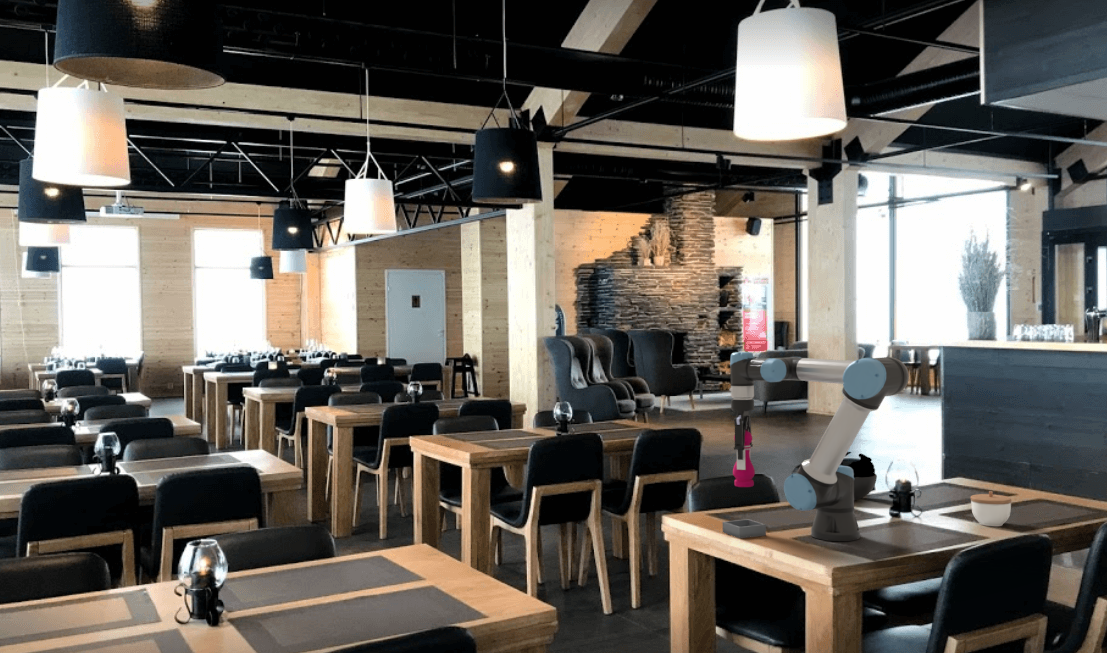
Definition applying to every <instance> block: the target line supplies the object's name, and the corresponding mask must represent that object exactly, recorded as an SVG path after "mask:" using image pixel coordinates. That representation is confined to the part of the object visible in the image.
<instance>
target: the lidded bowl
mask: <svg viewBox="0 0 1107 653" xmlns="http://www.w3.org/2000/svg"><path fill="white" fill-rule="evenodd" d="M993 493H994V492H993V491H988V493H981V494H980V493H978V494H973V495H970V506H971V512H972V515H973V517H974V518H975V520H976V521H977V522H978V523H979V525H982V526H985V527H1002V526H1003V524H1005V523H1006V522H1007V521H1008V519H1009V518H1010V515H1011V510H1012V509H1011V508H1012V497H1010V496H1006V495H1001V494H993Z"/></svg>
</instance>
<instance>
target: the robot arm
mask: <svg viewBox="0 0 1107 653" xmlns="http://www.w3.org/2000/svg"><path fill="white" fill-rule="evenodd" d="M729 362H730V364H729V367H730V369H729V370H730V388H729V392H730V398H732V399H731V400H730V408H731V410H732V411H733V412H735V411H736V416H735V417H734V419H733V421H734V435H735V441H734V447H733V450H734V451H735V450H736V461H737V469H739V470H745V469H746V466H745V450H744V443H745V430H746V431H748V432H750V433H751V434H752V415H751V414H749V412H751V411H752V412H753V411H754V410H755V400H754V397H755V386H754V384H755V383H754V382H764V383H765V382H766V383H767V382H768V383H780V382H782V381H800V382H801V381H802V382H803V381H805V382H812V383H813V382H815V383H817V382H818V383H827V384H837V385H839V384H841V385H842V386H843V388H842V389H841V393H842V396H843V399H842V401H841V402H840V404H839V406H838V407H837V410H836V411H835V413H834V415H833V417H832V419H831V420H830V422H829V423H828V426H827V428H826V429H825V431H824V433H823V435H822V436H821V438H820V441H819V442H818V444H816V445H817V446H816V448H815V449H814V451H813V452H812V454H811V456H810V458H808V459H805V460H803V461H802V462H801V464H800V465H799V468H798V469H797V471H796V472H794V473H791V474H790V475H789V476H787V477H786V479H785V480H784V482H783V492H784V493H783V494H785V499H786V501H787V502H788V504H789V505H790V507H792V508H794V509H796V510H798V511H802V512H804V511H806V512H808V511H813V510H816V513H815V515H814V518H813V523H812V526H811V529H810V536H811V537H813V538H816V539H817V540H822V541H829V542H830V541H831V542H850V541H856V540H858V539H860V538H861V530H860V528H859V524H858V521H857V517H856V515H855V500H854V473H853V469H852V468H851V467H848V465H844V466H841V465H840V464H841V462H842V461H843V460H844V459H845V457H846V456H845V455H846V453H847V452H849V450H850V448H851V446H852V445H853V442H854V441H855V439H856V438H857V436H858V434H859V432H860V430H861V429H862V427H863V426H864V423H865V422H866V420H867V418H868V417H869V415H870V412H873V411H877V410H878V409H879V407H880V406H881V404H882V403H883V401H884V399H885V397H891V396H896V395H898V394H900V393H902V391H904V389H905V388H906V387H907V385H908V382H909V380H910V375H909V370H908V368H907V366H906V365H905V363H904V362H903V361H901V360H899V359H898V358H895V357H892V356H891V357H890V356H886V357H874V358H873V357H864V358H863V357H862V358H859V359H856V360H847V359H845V360H843V359H827V358H808V357H801V356H790V357H771V358H754V354H753V352H750V351H738V352H736V351H735V352H732V353H731V354H730V361H729ZM750 445H751V448H753V447H754V446H753V442H751V443H750ZM749 455H750V456H751V451H750V452H749Z"/></svg>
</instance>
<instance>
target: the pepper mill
mask: <svg viewBox="0 0 1107 653" xmlns="http://www.w3.org/2000/svg"><path fill="white" fill-rule="evenodd" d="M733 440H734V442H735V434H734V435H733ZM752 441H753V435H752V432H751V433H750V432H748V431H746V430H745V443H744V450H745V466H746V469H745V470H739V469H737V460H736V461H735V462H734V465H733V469H732V475H733V476H734V478H735V479H734V486H735V487H738V488H751V487H753V486H754V485H755V484H754V483H755V482H754V480H753V478H754V476H755V475H756V474H755V473H756V472H755V471H756V470H755V467H754V465H753V463H752V461H751V454H750V455H749V452H750V453H751V449H752V447H751V445H750V443H751V442H752ZM752 443H753V442H752Z"/></svg>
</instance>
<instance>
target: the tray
mask: <svg viewBox="0 0 1107 653" xmlns="http://www.w3.org/2000/svg"><path fill="white" fill-rule="evenodd" d="M766 528H767V526H766V524H765V523H762V522H759V521H755V520H754V519H753V520H752V519H749V518H745V519H735V520H729V521H727V520H726V521H722V533H723V532H724V533H723V534H726V533H727V534H726V535H730V536H731V535H732V537H734V536H735V538H738V539H745V538H755V537H763V536H767V535H766V534H767V529H766Z"/></svg>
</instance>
